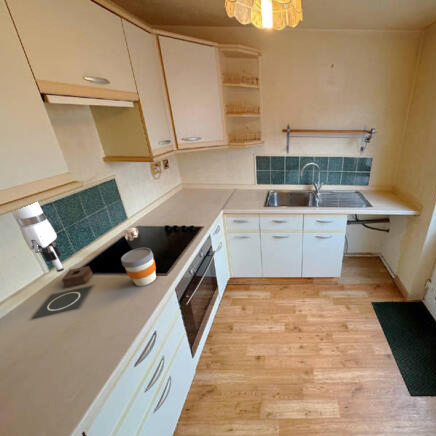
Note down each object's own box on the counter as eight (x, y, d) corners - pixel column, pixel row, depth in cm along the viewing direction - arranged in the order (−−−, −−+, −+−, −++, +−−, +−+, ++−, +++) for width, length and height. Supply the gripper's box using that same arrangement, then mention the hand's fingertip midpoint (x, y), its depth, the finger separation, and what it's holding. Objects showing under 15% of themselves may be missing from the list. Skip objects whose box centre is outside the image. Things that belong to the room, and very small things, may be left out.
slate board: (33, 319, 92) (32, 318, 91) (52, 295, 104) (51, 294, 103) (78, 308, 96) (78, 307, 96) (91, 287, 108) (91, 286, 108)
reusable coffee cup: (165, 273, 116) (158, 249, 110) (146, 290, 105) (136, 264, 99) (145, 270, 119) (136, 246, 113) (124, 286, 108) (113, 260, 102)
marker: (55, 272, 99) (43, 248, 94) (58, 269, 101) (46, 246, 95) (62, 271, 99) (50, 247, 94) (64, 268, 101) (53, 245, 96)
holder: (66, 288, 108) (61, 279, 106) (73, 277, 115) (69, 269, 113) (86, 283, 110) (82, 275, 108) (92, 273, 117) (88, 265, 115)
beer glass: (148, 249, 137) (140, 227, 131) (139, 256, 131) (131, 233, 125) (137, 248, 138) (129, 226, 132) (128, 255, 132) (120, 232, 126)
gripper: (33, 213, 95) (53, 250, 103) (4, 230, 81) (30, 271, 89) (55, 210, 97) (74, 247, 105) (31, 226, 84) (54, 267, 92)
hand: (54, 257), depth 97 cm, fingers closed on marker, 2 cm apart
